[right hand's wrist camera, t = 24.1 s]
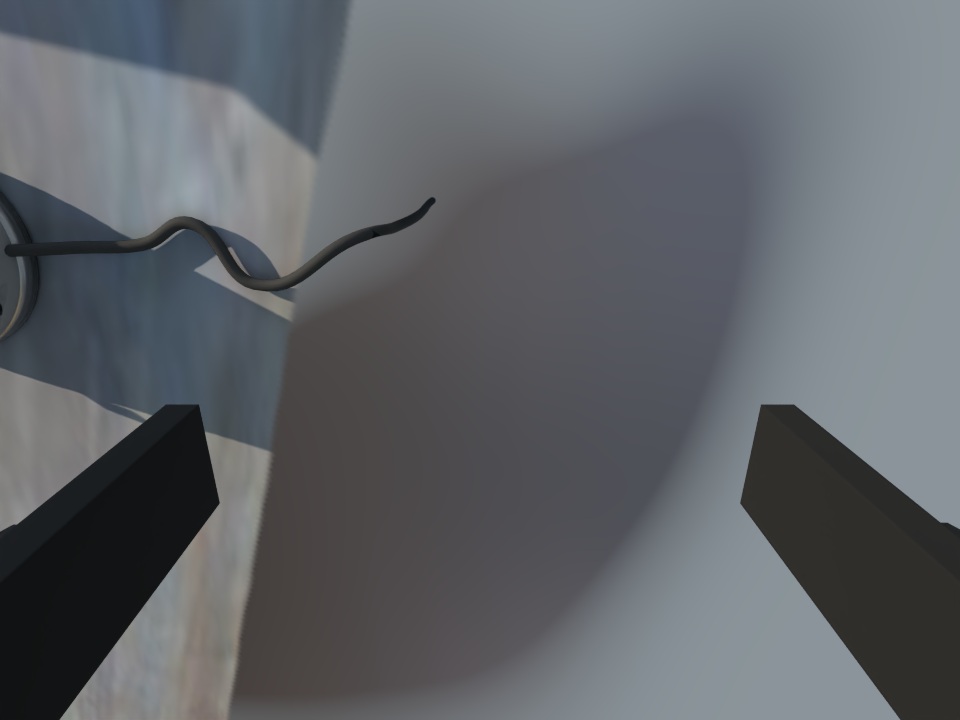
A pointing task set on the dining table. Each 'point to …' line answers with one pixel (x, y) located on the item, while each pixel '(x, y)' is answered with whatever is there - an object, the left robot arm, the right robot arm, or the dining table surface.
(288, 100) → the dining table surface
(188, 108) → the dining table surface
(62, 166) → the dining table surface
